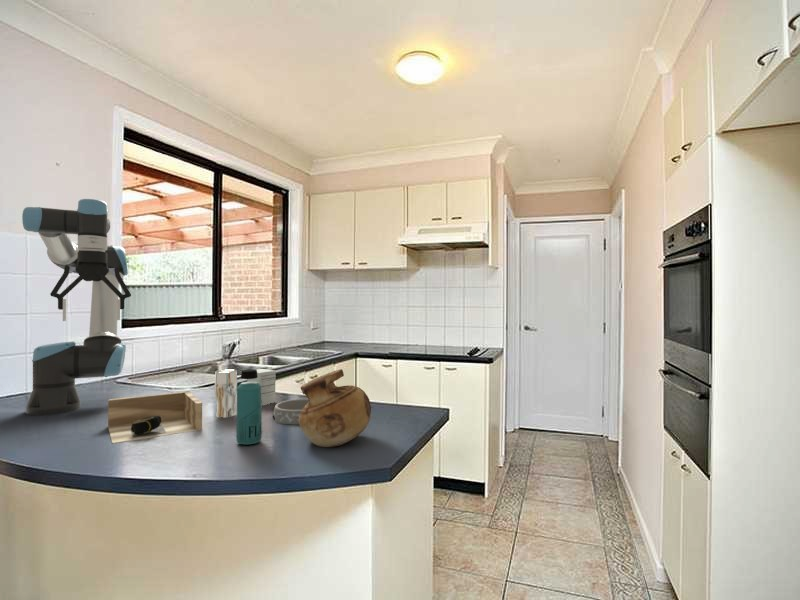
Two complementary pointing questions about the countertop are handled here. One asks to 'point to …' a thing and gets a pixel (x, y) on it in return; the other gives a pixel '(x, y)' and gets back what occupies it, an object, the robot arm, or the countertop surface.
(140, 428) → the tape measure
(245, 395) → the beverage bottle
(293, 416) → the dog bowl
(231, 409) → the white piece
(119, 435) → the corner tray
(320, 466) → the countertop surface
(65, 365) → the robot arm
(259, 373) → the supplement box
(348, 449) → the countertop surface
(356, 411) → the clay pot
